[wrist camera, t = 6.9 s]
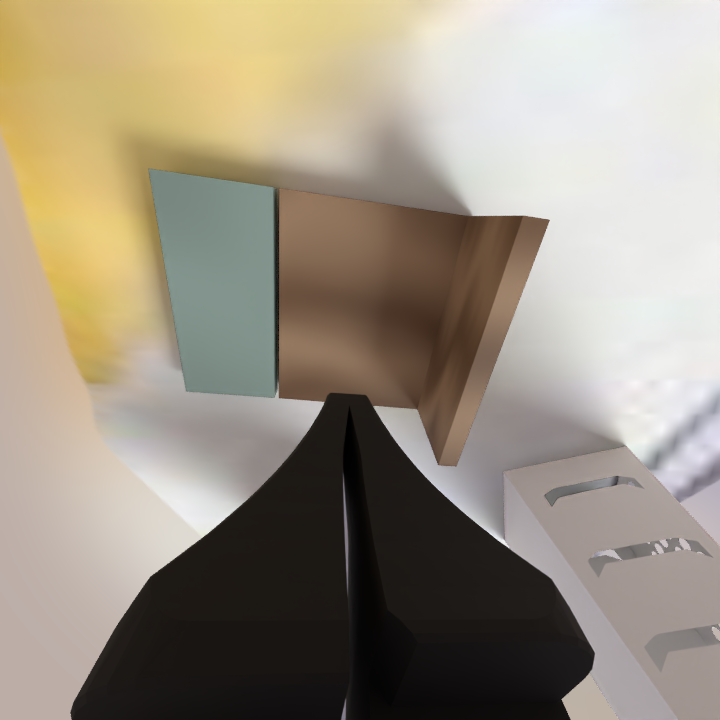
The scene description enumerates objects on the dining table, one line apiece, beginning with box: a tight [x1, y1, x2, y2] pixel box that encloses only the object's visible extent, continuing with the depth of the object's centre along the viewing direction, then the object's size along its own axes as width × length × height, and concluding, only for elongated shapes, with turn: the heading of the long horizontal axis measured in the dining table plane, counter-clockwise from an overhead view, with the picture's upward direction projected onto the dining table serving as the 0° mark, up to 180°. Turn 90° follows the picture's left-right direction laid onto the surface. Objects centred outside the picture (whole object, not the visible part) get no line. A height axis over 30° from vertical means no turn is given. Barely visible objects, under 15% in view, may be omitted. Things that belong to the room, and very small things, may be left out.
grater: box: [503, 446, 720, 720], centre depth 18 cm, size 10×10×20 cm
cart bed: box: [279, 188, 550, 466], centre depth 15 cm, size 12×10×6 cm
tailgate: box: [149, 169, 277, 398], centre depth 16 cm, size 12×1×6 cm
